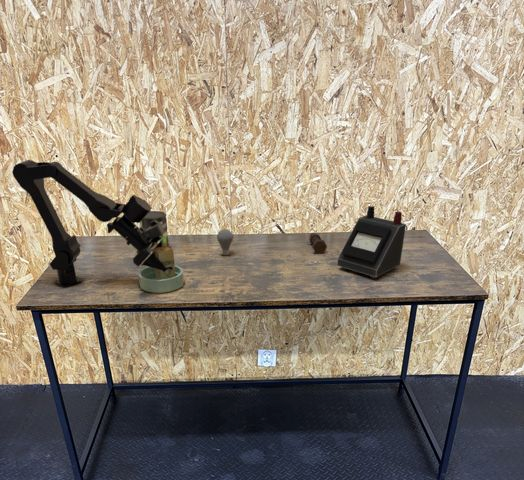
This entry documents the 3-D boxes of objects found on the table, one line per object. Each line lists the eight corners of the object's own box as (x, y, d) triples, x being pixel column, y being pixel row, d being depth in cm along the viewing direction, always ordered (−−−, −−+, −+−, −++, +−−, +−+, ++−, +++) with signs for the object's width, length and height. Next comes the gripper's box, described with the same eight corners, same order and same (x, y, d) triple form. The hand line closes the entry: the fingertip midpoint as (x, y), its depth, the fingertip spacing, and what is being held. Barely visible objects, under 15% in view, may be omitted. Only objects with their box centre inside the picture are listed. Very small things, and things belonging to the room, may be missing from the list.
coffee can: (174, 250, 195) (171, 214, 188) (151, 256, 189) (147, 219, 182) (160, 244, 202) (157, 209, 194) (138, 249, 196) (133, 214, 188)
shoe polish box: (176, 284, 165) (173, 250, 159) (162, 288, 163) (158, 253, 156) (170, 279, 168) (166, 245, 162) (156, 283, 166) (152, 248, 160)
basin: (131, 285, 166) (129, 272, 163) (166, 273, 175) (164, 261, 172) (157, 297, 157) (156, 284, 155) (192, 284, 166) (191, 271, 164)
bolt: (314, 245, 206) (321, 256, 193) (304, 239, 204) (310, 250, 191) (322, 233, 203) (329, 243, 190) (312, 227, 202) (318, 237, 189)
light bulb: (225, 251, 194) (224, 226, 189) (236, 254, 191) (236, 229, 186) (214, 255, 190) (213, 229, 185) (226, 258, 187) (225, 232, 182)
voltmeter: (336, 269, 178) (340, 213, 168) (361, 257, 188) (367, 204, 178) (374, 281, 168) (382, 223, 158) (399, 268, 179) (407, 213, 168)
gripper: (138, 223, 146) (178, 260, 151) (154, 207, 162) (189, 240, 167) (116, 248, 150) (156, 283, 155) (133, 230, 166) (168, 262, 171)
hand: (168, 266), depth 162 cm, fingers closed on shoe polish box, 7 cm apart
